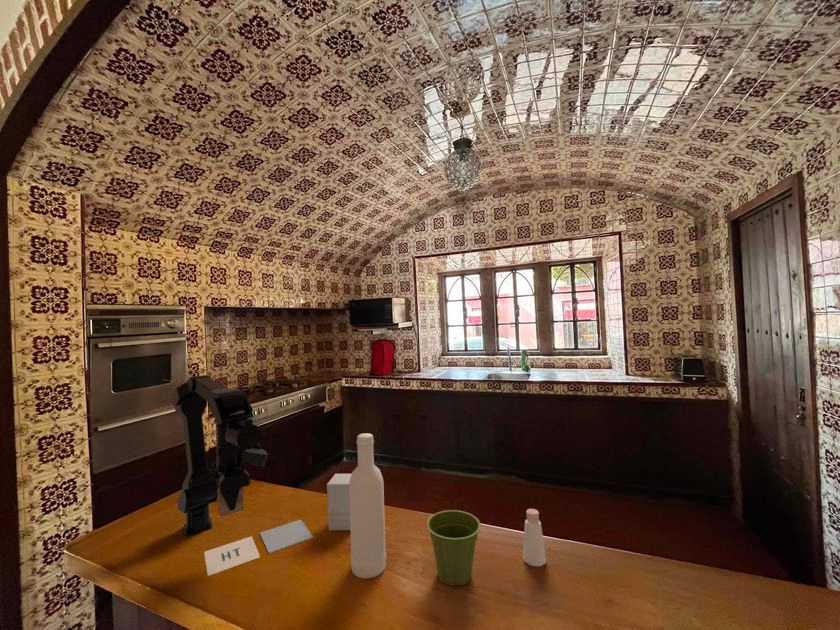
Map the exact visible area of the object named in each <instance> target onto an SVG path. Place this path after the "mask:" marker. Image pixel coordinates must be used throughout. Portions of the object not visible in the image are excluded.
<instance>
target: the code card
mask: <svg viewBox="0 0 840 630" xmlns="http://www.w3.org/2000/svg"><path fill="white" fill-rule="evenodd" d="M203 554H204V561H205V567H206V574H207V577H209V576H212V575H215V574H218V573H221V572H223V571H227V570H228V569H231V568H233V567H237V566H239V565H242V564H245V563H248V562H250V561H252V560H256V559H259V558H260V557H261V555H260V553H259V550H258V547H257V546H256V543H255V541H254V539H253V536H248V537H245V538H242V539H238V540H236V541H233V542H230V543H228V544H223V545H221V546H218V547H214V548H212V549H209V550H206V551H203Z"/></svg>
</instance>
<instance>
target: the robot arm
mask: <svg viewBox="0 0 840 630" xmlns="http://www.w3.org/2000/svg"><path fill="white" fill-rule="evenodd" d="M171 403H172V405H173V407H174V411H175V413H176V414H177V415H178V416H179V417H180V419H182V423H183V434H184V443H185V452H186V463H187V474H186V475H185V477H184V480H183V482H182V491H181V492H180V495H179V497H178V499H177V501H176V503H177V509H178V511H180V512H181V513H182V514H185V523H184V524H183V530H184V533H183V534H184V536H186V537H187V536H191V535H194V534H196V533H197V534H198V533H200V532H203V531H207V530H210V529H212V528H213V522H212V518H211V517H210V512H211V511H210V504H212V503H216V502H218V488H219V490H220V492H221V494H222V496H223V498H224V500H225V502H226V504H227V506H228V508H229V510H230V511H231V510H234V509H235V507H236V503H237V499H238V494H239V491H240V488H241V487H242V488H244V487H248V486H250V485H251V475H250V474H249V472H248V471H247V470H246V469H244V468H247V465H250V466H257V467H260V468H263V467H265V464H266V461H267V458H268V452H267V451H266V450H265V449H263V448H260V444H259V442H260V441H261V438H262V432H261V429H260V428H259V426H257V424H254V423H253V421H254V420H253V418H254V414H253V411H254V409H253V408H252V405H251V403H250V400H249V399H248V397H247V395H246V393H245V392H244V391H243V390H242V389H239V388H228V387H225V386H223V385H221V384H220V383H218V382H217V381H215V380H214V379H212V377H211V376H210V375H207V374H205V375H204V374H203V375H196V376H191V377H189V378H188V379H187V381H186V382H183V384H181V385H180V386H177V387H176V388H175V390H174V392H173V393H172V395H171ZM208 403H209V410H210V412H211V414H212V416H213V418H214V423H215V425H216V427H215V430H216V431H215V432H216V434H215V435H216V436H215V437H216V445H215V453H216V456H215V457H214V459H213V460H212V470H213V471H212V470H211V469H210V468H209V467H208V459H207V449H206V442H205V433H204V424H203V415H204V413H205V410H206V409H207V406H208ZM215 471H216V472H215Z"/></svg>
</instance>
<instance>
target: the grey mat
mask: <svg viewBox="0 0 840 630" xmlns="http://www.w3.org/2000/svg"><path fill="white" fill-rule="evenodd" d="M259 535H260V538H261V539H262V542H263V544H264V546H265V548H266V550H267V553H268V554H269V555H270V554H272V553H275V552H278V551H281V550H284V549H287V548H289V547H292V546H295V545H297V544H300V543H302V542H306V541H308V540H311V539H313V538H314V536H313V535H312V534H311V531H309V529H308V528H307V526H306V525H305V523H304V522H303V520H302V519H298V520H295V521H291V522H289V523H285V524H283V525H280V526H276V527H273V528H270V529H267V530H265V531H261V532H259Z"/></svg>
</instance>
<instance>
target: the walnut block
mask: <svg viewBox="0 0 840 630" xmlns="http://www.w3.org/2000/svg"><path fill="white" fill-rule="evenodd" d="M217 502H218V503H217V505H218V507H217V509H218V512H219V516H220V517H224V516H228V515H232V514H235V513H238V512H241V511H244V510H245V509H244V508H245V507H244V505H245V504H244V487H241V488H240V491H239V494H238V499H237V503H236V507H235V509H234V510H231V511H230V510H229V508H228V506H227V504H226V502H225V500H224V498H223V496H222V494H221V492H220V490H219V488H218V497H217Z"/></svg>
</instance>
